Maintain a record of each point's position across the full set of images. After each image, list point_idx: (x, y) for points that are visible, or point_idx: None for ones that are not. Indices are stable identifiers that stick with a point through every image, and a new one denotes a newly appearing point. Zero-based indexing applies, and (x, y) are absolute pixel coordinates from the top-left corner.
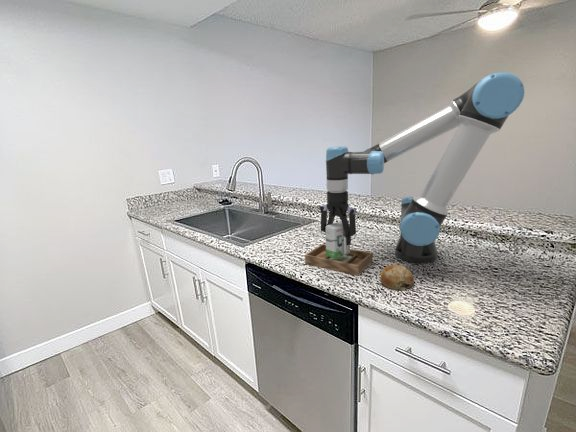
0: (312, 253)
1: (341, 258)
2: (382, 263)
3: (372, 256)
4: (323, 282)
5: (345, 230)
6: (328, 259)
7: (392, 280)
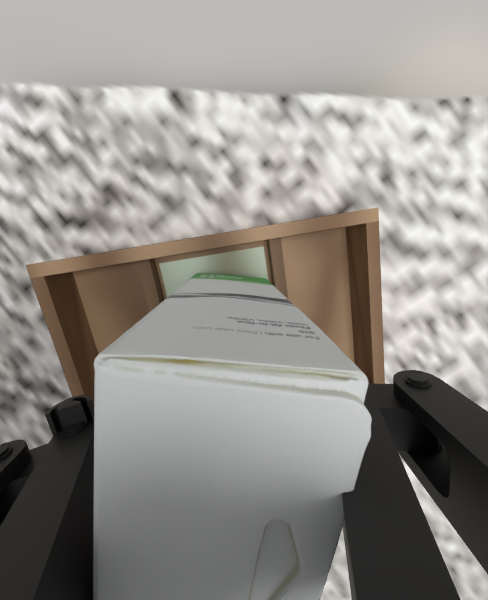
0: (362, 275)
1: None
2: None
3: None
4: (138, 91)
5: (51, 480)
6: (220, 242)
7: None
